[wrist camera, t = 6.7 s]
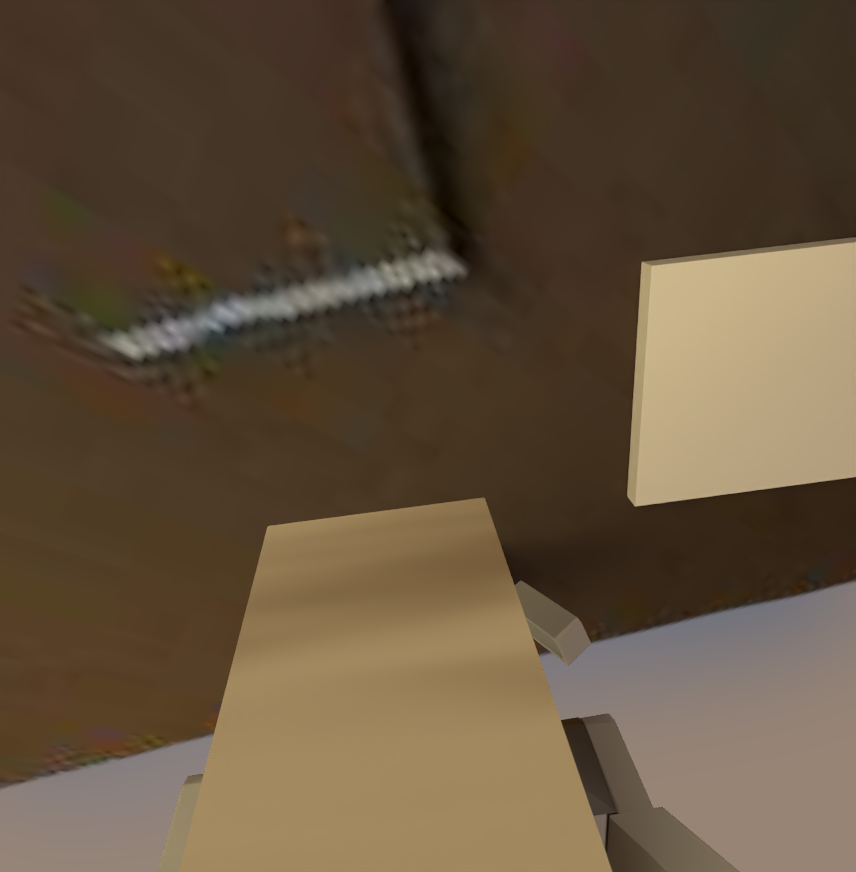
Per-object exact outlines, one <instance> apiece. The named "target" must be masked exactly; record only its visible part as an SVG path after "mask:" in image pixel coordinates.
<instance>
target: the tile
mask: <svg viewBox="0 0 856 872" xmlns="http://www.w3.org/2000/svg"><path fill="white" fill-rule="evenodd" d="M851 477H856V237H853V238H845V239H836V240H827V241H818V242H810V243H801V244H792V245H784V246H775V247H766V248H758V249H749V250H740V251H732V252H723V253H714V254H706V255H697V256H688V257H679V258H671V259H662V260H653V261H645V262H642V266H641V282H640V298H639V314H638V330H637V346H636V362H635V379H634V395H633V411H632V427H631V443H630V459H629V475H628V491H627V497H628V498H629V499H630V501H631V502H632V503H633V505H634V506H642V505H650V504H657V503H665V502H672V501H680V500H687V499H695V498H702V497H710V496H717V495H724V494H732V493H739V492H747V491H754V490H762V489H769V488H777V487H784V486H792V485H799V484H807V483H814V482H822V481H829V480H836V479H844V478H851Z"/></svg>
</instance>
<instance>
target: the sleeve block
mask: <svg viewBox="0 0 856 872" xmlns="http://www.w3.org/2000/svg"><path fill="white" fill-rule="evenodd" d="M179 872H612V869H611V866H610V863H609V860H608V857H607V854H606V852H605V849H604V846H603V843H602V840H601V837H600V834H599V831H598V828H597V825H596V822H595V819H594V816H593V814H592V811H591V808H590V805H589V802H588V799H587V796H586V793H585V790H584V787H583V784H582V781H581V778H580V776H579V773H578V770H577V767H576V764H575V761H574V758H573V755H572V752H571V749H570V746H569V743H568V740H567V737H566V735H565V732H564V729H563V726H562V723H561V720H560V717H559V714H558V711H557V708H556V706H555V702H554V699H553V697H552V694H551V691H550V688H549V685H548V682H547V679H546V676H545V673H544V670H543V668H542V664H541V661H540V659H539V656H538V653H537V650H536V647H535V644H534V641H533V638H532V635H531V632H530V629H529V626H528V623H527V621H526V618H525V615H524V612H523V609H522V606H521V603H520V600H519V597H518V594H517V591H516V588H515V585H514V583H513V580H512V577H511V574H510V571H509V568H508V565H507V562H506V559H505V556H504V553H503V550H502V547H501V544H500V542H499V539H498V536H497V533H496V530H495V527H494V524H493V521H492V518H491V515H490V512H489V509H488V506H487V504H486V501H485V498H478V499H470V500H463V501H455V502H447V503H440V504H432V505H425V506H417V507H410V508H402V509H395V510H387V511H379V512H372V513H364V514H357V515H349V516H342V517H334V518H326V519H319V520H311V521H304V522H296V523H289V524H281V525H274V526H268V527H267V531H266V535H265V539H264V543H263V547H262V550H261V554H260V558H259V562H258V566H257V570H256V574H255V578H254V581H253V585H252V589H251V593H250V597H249V601H248V605H247V608H246V612H245V616H244V620H243V624H242V628H241V632H240V636H239V639H238V643H237V647H236V651H235V655H234V659H233V663H232V667H231V670H230V674H229V678H228V682H227V686H226V690H225V694H224V698H223V701H222V705H221V709H220V713H219V717H218V721H217V725H216V729H215V732H214V736H213V740H212V744H211V748H210V752H209V756H208V760H207V764H206V767H205V771H204V775H203V779H202V783H201V787H200V791H199V794H198V798H197V802H196V806H195V810H194V814H193V818H192V821H191V825H190V829H189V833H188V837H187V841H186V845H185V849H184V852H183V856H182V860H181V864H180V868H179Z"/></svg>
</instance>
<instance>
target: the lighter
mask: <svg viewBox="0 0 856 872" xmlns="http://www.w3.org/2000/svg"><path fill="white" fill-rule="evenodd" d="M515 588H516V591H517V594H518V597H519V600H520V603H521V606H522V609H523V612H524V615H525V618H526V621H527V623H528V626H529V629H530V632H531V635H532V638H534V639H535V640H536V641H538V642H539V643H540V644H541V645H543V646H544V647H545V648H547V649H548V650H549V651H550V652H552V653H553V654H554V655H556V656H557V657H558V658H560V659H561V660H562V661H563V662H565V663H566V664H567V665H570V664H571V663H572V662H573V661H574V660H575V659H576V658H577V657H578V656H579V655H580V654H581V653H582V652H583V651H584V650H585V649H586V648H587V647H588V646H589V645H590V644H591V642H590V640H589V638H588V636H587V634H586V632H585V629H584V627H583V625H582V623H581V621H580V620H579V619H578V618H577V617H576V616H574V615H573V614H571V613H570V612H568V611H567V610H565V609H564V608H562V607H561V606H559V605H558V604H556V603H555V602H553V601H552V600H550V599H549V598H547V597H545V596H544V595H542V594H541V593H539V592H538V591H536V590H535V589H533V588H532V587H530V586H529V585H527V584H526V583H524V582H523V581H519V582H518V583H517V584H516V585H515Z"/></svg>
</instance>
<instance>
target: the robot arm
mask: <svg viewBox="0 0 856 872" xmlns="http://www.w3.org/2000/svg"><path fill="white" fill-rule="evenodd" d="M561 723H562V726H563V729H564V732H565V735H566V737H567V740H568V743H569V746H570V749H571V752H572V755H573V758H574V761H575V764H576V767H577V770H578V773H579V776H580V778H581V781H582V784H583V787H584V790H585V793H586V796H587V799H588V802H589V805H590V808H591V811H592V814H593V816H594V819H595V822H596V825H597V828H598V831H599V834H600V837H601V840H602V843H603V846H604V849H605V852H606V854H607V857H608V860H609V863H610V866H611V869H612V872H739V871H738V870H737V869H736V868H734V867H733V866H732V865H731V864H730V863H729V862H727V861H726V860H725V859H724V858H723V857H721V856H720V855H719V854H718V853H717V852H715V851H714V850H713V849H712V848H710V847H709V846H708V845H707V844H706V843H705V842H703V841H702V840H701V839H700V838H699V837H698V836H696V835H695V834H694V833H693V832H692V831H690V830H689V829H688V828H687V827H686V826H684V825H683V824H682V823H681V822H680V821H678V820H677V819H676V818H675V817H674V816H672V815H671V814H670V813H669V812H668V811H666V810H665V809H664V808H663V807H659V808H653V806H652V804H651V802H650V800H649V797H648V795H647V793H646V790H645V788H644V786H643V784H642V782H641V779H640V777H639V775H638V772H637V770H636V768H635V765H634V763H633V761H632V759H631V756H630V754H629V752H628V750H627V747H626V745H625V743H624V741H623V738H622V736H621V734H620V731H619V729H618V727H617V725H616V722H615V720H614V719H613V718H612V717H611V715H610V714H602V715H596V716H590V717H585V718H571V719H566V720H561ZM203 775H204V774H199V775H192V776H188V778H187V780H186V781H185V783H184V784H183V786H182V788H181V791H180V795H179V799H178V802H177V805H176V809H175V812H174V816H173V819H172V823H171V826H170V829H169V833H168V836H167V840H166V843H165V847H164V851H163V854H162V857H161V860H160V864H159V867H158V871H157V872H179V868H180V864H181V860H182V856H183V852H184V849H185V845H186V841H187V837H188V833H189V829H190V825H191V821H192V818H193V814H194V810H195V806H196V802H197V798H198V794H199V791H200V787H201V783H202V779H203Z"/></svg>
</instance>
